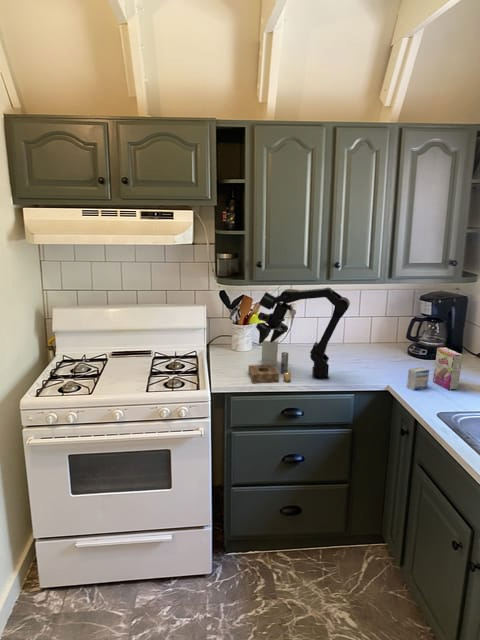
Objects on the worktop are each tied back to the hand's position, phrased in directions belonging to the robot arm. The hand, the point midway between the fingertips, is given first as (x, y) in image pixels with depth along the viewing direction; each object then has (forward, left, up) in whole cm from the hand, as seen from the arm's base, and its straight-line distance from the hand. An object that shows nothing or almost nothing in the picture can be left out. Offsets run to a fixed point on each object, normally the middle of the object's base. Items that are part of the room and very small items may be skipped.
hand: (265, 342), depth 224 cm
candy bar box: (-77, +28, -14) cm, 83 cm away
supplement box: (-4, -9, -14) cm, 17 cm away
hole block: (+3, +11, -13) cm, 18 cm away
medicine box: (-63, +29, -14) cm, 71 cm away
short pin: (-7, +16, -14) cm, 22 cm away
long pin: (-8, +6, -13) cm, 17 cm away
